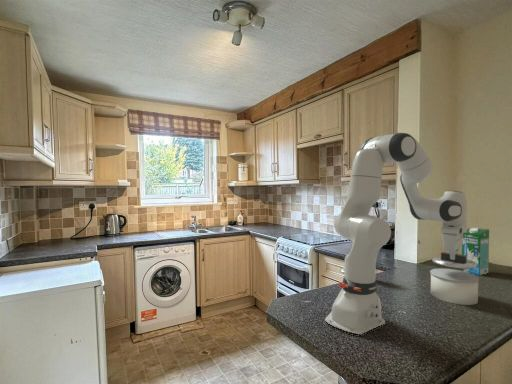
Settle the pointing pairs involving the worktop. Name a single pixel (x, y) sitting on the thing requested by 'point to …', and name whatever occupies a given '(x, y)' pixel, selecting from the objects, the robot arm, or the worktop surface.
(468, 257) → the milk carton
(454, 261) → the lid
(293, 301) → the worktop surface
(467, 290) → the cooker pot
